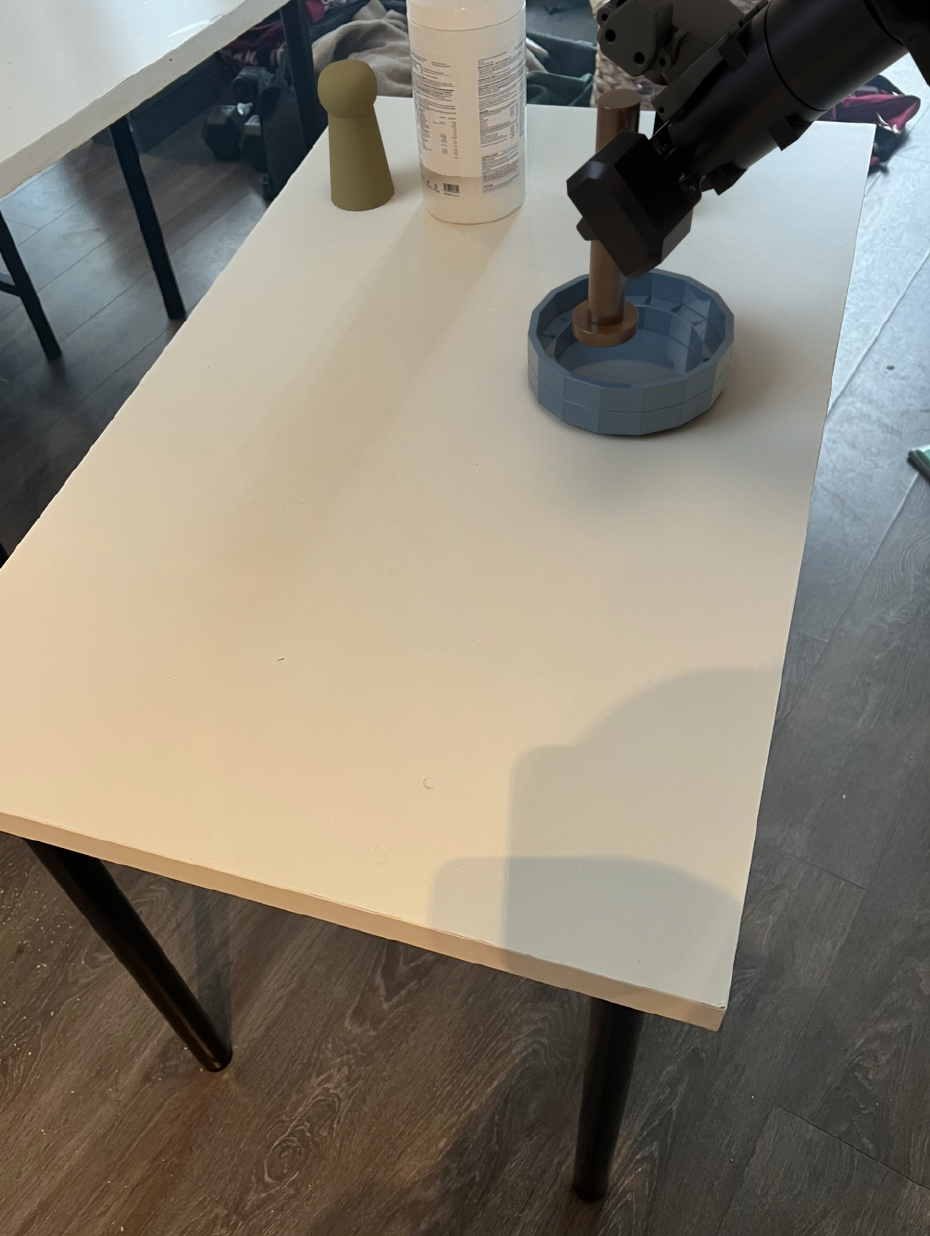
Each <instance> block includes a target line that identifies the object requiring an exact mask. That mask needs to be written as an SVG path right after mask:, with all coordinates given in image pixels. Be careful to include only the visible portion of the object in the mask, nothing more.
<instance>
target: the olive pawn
mask: <svg viewBox="0 0 930 1236" xmlns="http://www.w3.org/2000/svg"><path fill="white" fill-rule="evenodd" d="M317 96H318V99H319V102H320V104H321V106H322V107H323V109H324V110H325V111H326V112H327V131H328V151H329V153H328V156H329V177H330V199H331V203H332V204H333V205H334V206H336V207H337V208H339V209H342V210H344V211H345V210H346V211H352V212H359V211H368V210H373V209H377V208H378V207H381V206H383V205H385V204H386V203H387V202H388V201H390V200H391V199H392V197H393V196H394V194H395V185H394V181H393V178H392V174H391V170H390V169H391V168H390V166H389V163H388V162H389V161H388V158H387V153H386V150H385V149H386V148H385V146H384V142H383V138H382V134H381V130H380V125H379V122H378V118H377V113H376V110H375V109H376V108H375V106H374V105H375V103H376V100H377V97H378V80H377V76H376V73H375V71H374V70H373V68H372V67H371V66H370V65H369V63H367V62H366V61H362V60H360V59H355V58H353V59H352V58H347V59H341V60H337V61H334V62H331V63H329V64H328V65H327V66H325V67H324V68H323V69H322V70H321V72H320V73H319V76H318V79H317Z"/></svg>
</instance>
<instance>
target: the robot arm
mask: <svg viewBox="0 0 930 1236" xmlns="http://www.w3.org/2000/svg"><path fill="white" fill-rule="evenodd" d="M596 22H597V25H598V26H599V28H598V30H597V32H596V37H595V38H596V41H597V43H598V46H599V50H600V53H601V54H602V55H603V56H604V57H606V58H607V59H608V60H609V61H610V62H612V63H613V64H614V65H615V66H617V67H618V68H620V69H621V70H622V71H623V72H625V73H626V74H627V75H629V76H630V77H631V78H637V77H641V76H643V77H644V78H645V79H646V80H648V81H649V82H651V83H653V84H654V85H657V86H661V87H664V88H663V89H662V90H661V91H660V92H658V94H656V95H655V96H654V97H653V98H651V100H650V101H649V103H650V104H651V106H652V108H653V109H654V110H655V112H654V120H653V129H652V134H651V136H650V137H649V138H648V136H647V135H646V134H645V133H642V132H639V133H637V132H633V131H629V129H628V128H627V127H625V128H624V129H622V130H621V131H620V132H619V133H617V134H616V135H615V136H614V137H613V138H612V139H611V140H610V141H608V142H607V143H606V144H605V145H604V146H603V147H602V148H601V149H600V150H599V151H597V152H596V153H595V152H594V154H593V155H592V156H591V157H590V158H589V159H587V160H586V161H585V162H584V163H583V164H582V165H581V166H580V167H579V168H578V169H577V170H576V171H574V172H573V173H572V174H571V175H570V176H569V177H568V178H567V179H566V180H565V184H566V196H567V197H568V198H569V200H570V201H571V203H572V204H573V206H574V207H575V208H576V210H577V212H579V214H580V215H581V218H580V219H579V221H578V222H577V224H576V226H575V229H576V231H577V232H578V233H579V235H580V236H581V238H582V239H583V240H584V241H585V242H591V241H594V240H599V241H600V242H601V244H602V245H603V246H604V248H605V249H606V251H607V252H608V254H609V255H610V256H611V258H612V259H613V261H614V262H615V263H616V265H617V266H618V268H619V269H620V271H621V272H622V273H623V275H624V276H625V277H627V278H630V279H634V280H637V279H639V278H640V277H642V276H643V275H645V274H646V273H648V272H649V271H651V270H652V269H654V268H657V267H658V266H659V265H661V264H663V262H664V261H665V260H666V259H667V258H668V257H669V256H670V255H671V253H672V252H673V251H674V250H675V249H676V248H677V247H678V245H679V244H680V243H681V242H682V241H683V240H684V239H685V238H686V237H687V236H688V235H689V233H691V230H692V223H693V216H694V215H693V214H694V209H695V207H696V206H697V205H698V204H699V203H700V202H701V201H702V199H703V193H705V192H708V191H711V190H714V192H715V194H716V195H717V197H720V196H721V195H722V194H724V193H725V192H727V191H728V190H729V189H730V188H732V187H734V186H735V184H737V182H738V181H739V180H740V179H741V178H742V177H743V176H744V174H745V173H747V171H749V169H750V167H752V166H753V165H755V164H756V163H757V162H759V161H760V160H762V159H763V158H764V157H766V156H767V155H769V154H770V153H772V152H773V151H774V150H775V149H777V148H779V150H780V152H783V151H784V150H785V149H788V147H790V146H791V145H793V144H794V143H795V142H797V141H798V140H799V139H801V137H802V136H803V135H804V134H805V132H807V130H809V128H810V127H811V126H812V125H813V124H814V122H815V121H817V119H819V118H820V117H822V116H823V115H824V114H826V113H827V112H828V111H830V110H831V109H832V108H834V107H835V106H837V105H838V104H839V103H841V102H842V101H843V100H845V99H846V98H847V97H848V98H849V96H851V95H852V94H853V93H855V92H856V91H858V90H859V89H860V88H862V87H863V86H865V85H866V84H867V83H869V82H870V81H872V80H873V79H874V78H876V77H877V76H879V75H880V74H881V73H882V72H884V71H885V70H887V69H889V67H891V66H892V65H894V64H895V63H896V62H897V61H899V60H901V59H903V58H904V57H905V56H906V55H908V54H909V55H910V56H911V58H912V60H913V62H914V64H915V66H916V68H917V69H918V71H919V73H920V74H921V77H922V78H923V80H924V82H925V83H926V85H927V86H928V88H930V0H760V1H759V2H758V3H757V4H756V5H754V6H753V7H752V8H751V9H750V10H749V11H748V12H746V13H744V12H743V11H742V10H741V9H739V8H738V7H737V6H736V4H734V2H732V1H730V0H608V2H606V3H604V5H602V6H601V7H600V8H598V10H597V13H596Z"/></svg>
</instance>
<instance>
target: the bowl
mask: <svg viewBox="0 0 930 1236" xmlns="http://www.w3.org/2000/svg"><path fill="white" fill-rule="evenodd" d="M588 289H589V273H585V274H581V275H578V276H576V277H574V278H572V279H570V280H568V281H566V282H564V283H562V284H561V285H559V286H556V287H555V288H553V289H551V290H550V291H549V292H548V293H547V294H546V295H545V296H544V297H543V298H542V300H541V301H540V302H539V303H538V304H537V305H536V306H535V307H534V308H533V309H532V311H531V314H530V318H529V319H530V320H529V324H528V330H527V381H528V383H529V385H530V388H531V390H532V392H533V394H534V396H535V398H536V401H537V402H538V404H539V405H541V406H542V407H543V408H544V409H546V410H547V411H549V412H550V413H551V414H552V415H554V416H555V417H556V418H557V419H559V420H560V421H561V422H564V423H566V424H569V425H572V426H575V427H577V428H582V429H583V430H587V431H591V432H593V433H597V434H604V435H623V436H624V435H628V436H643V435H647V434H652V433H655V432H660V431H665V430H669V429H674V428H678V427H681V426H682V425H684V424H686V423H687V422H689V421H691V420H693V419H695V418H696V417H698V416H699V415H701V414H703V413H705V412H707V411H708V410H709V409H710V408H711V407H712V405H713V404H714V403H715V401H716V400H717V399H718V397H719V395H720V394H721V393H722V391H723V389H725V386H726V384H727V378H728V373H729V368H730V362H731V358H732V353H733V348H734V342H735V314H734V313H733V312H732V310H731V308H730V307H729V306H728V303H726V301H725V300H724V299H723V297H722V296H721V294H720V293H719V292H718V291H716V290H714V289H712V288H711V287H709V286H707V285H705V284H704V283H702V282H701V281H699V280H697V279H696V278H694V277H692V276H690V275H686V274H681V273H678V272H673V271H669V270H665V269H661V268H657V267H655V268H654V269H652V270H651V271H649V272H648V273H646V274H645V275H643V276H642V277H640V278H639V279H637V280H634V279H630V278H627V281H626V293H625V300H628V301H629V302H631V303H632V304H634V305H635V307H636V308H637V310H638V312H639V321H638V329H637V332H636V334H635V335H634V337H633V338H632V339H630V340H629V341H627V342H626V343H623V344H621V345H618V346H614V347H594V346H589V345H587V344H584V343H582V342H580V341H579V340H578V339H577V338H576V337H575V336H574V334H573V332H572V314H573V311H574V310H575V308H576V307H577V306H578V305H579V304H581V303H582V302H584V301H586V300H588Z"/></svg>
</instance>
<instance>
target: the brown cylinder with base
mask: <svg viewBox="0 0 930 1236" xmlns="http://www.w3.org/2000/svg"><path fill="white" fill-rule="evenodd" d="M641 111H642V95H641V93H639V92H637V91H636V90H633V89H628V88H616V89H611V90H608V91H605V92H603V93H601V94H600V95H599V96H598V99H597V106H596V126H595V127H596V128H595V144H594V145H595V148H594V154H595V153H596V152H597V151H599V150H600V149H601V148H602V147H603V146H604V145H605V144H606V143H607V142H608V141H610V140H611V139H612V138H613V137H614V136H615V135H616V134H617V133H619V132H620V131H621V130H622V129H624V128H625V127H627V128H628V129H629V131H633V132H637V133H640V122H641V113H642V112H641ZM589 249H590V250H589V270H588V271H589V272H588V274H589V289H588V300H586V301H584V302H582V303H581V304H579V305H578V306H577V307H576V308H575V310H574V311H573V314H572V332H573V334H574V336H575V337H576V338H577V339H578V340H579V341H580V342H582V343H584V344H587V345H589V346H594V347H614V346H618V345H621V344H623V343H626V342H627V341H629V340H630V339H632V338H633V337H634V335H635V334H636V332H637V329H638V321H639V312H638V310H637V308H636V307H635V305H634V304H632V303H631V302H629V301H628V300H625V293H626V281H627V277H625V276H624V275H623V273H622V272H621V271H620V269H619V268H618V266H617V265H616V263H615V262H614V261H613V259H612V258H611V256H610V255H609V254H608V252H607V251H606V249H605V248H604V246H603V245H602V244H601V242H600V241H599V240H594V241H590V248H589Z"/></svg>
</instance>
